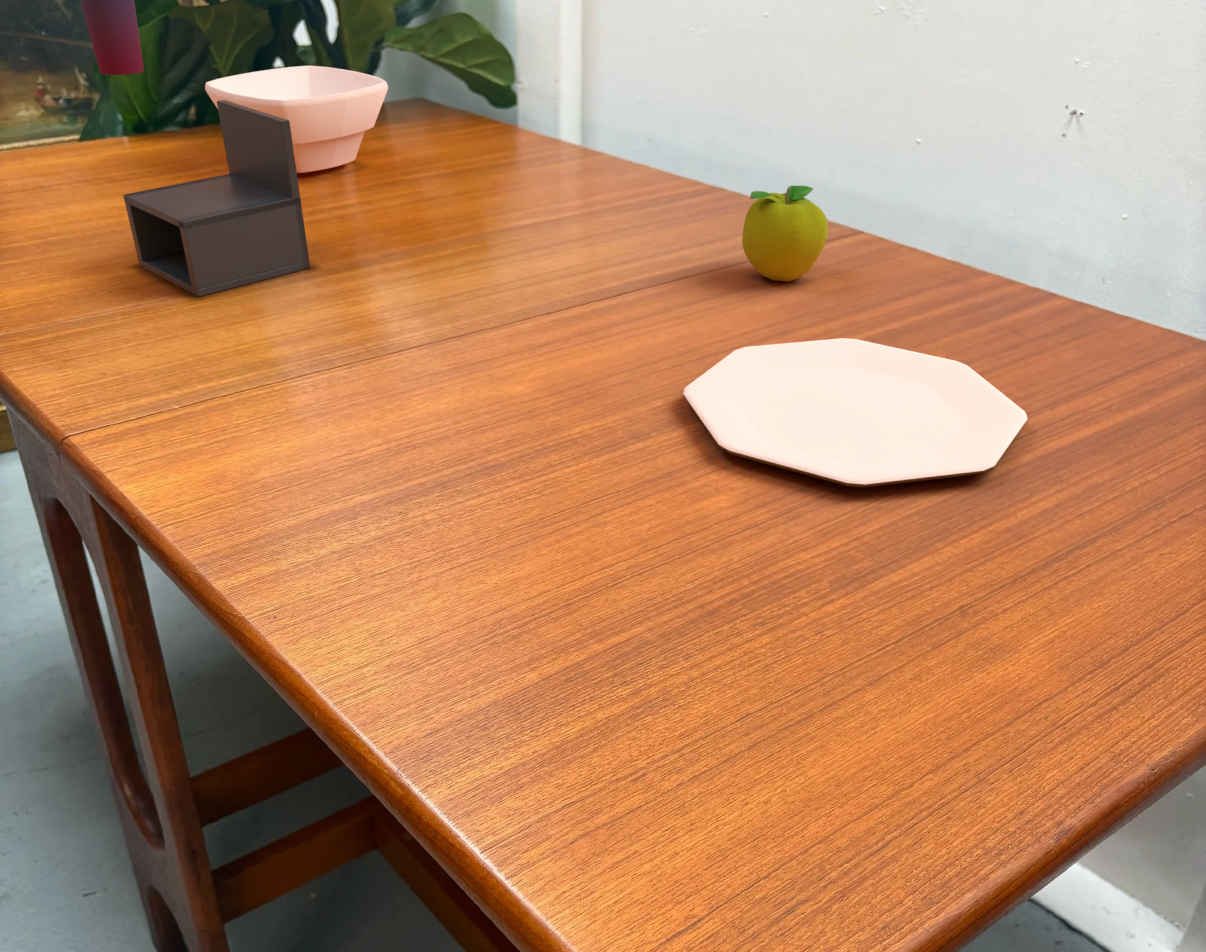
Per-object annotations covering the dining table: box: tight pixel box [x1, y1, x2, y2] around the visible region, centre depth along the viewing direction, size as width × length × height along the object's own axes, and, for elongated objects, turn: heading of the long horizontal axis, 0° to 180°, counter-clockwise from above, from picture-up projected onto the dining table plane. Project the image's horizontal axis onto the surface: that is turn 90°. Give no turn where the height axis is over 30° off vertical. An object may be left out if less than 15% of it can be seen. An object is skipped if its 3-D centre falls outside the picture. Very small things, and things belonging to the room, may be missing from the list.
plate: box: [682, 337, 1028, 488], centre depth 99 cm, size 28×28×2 cm
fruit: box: [741, 185, 829, 283], centre depth 126 cm, size 9×9×10 cm
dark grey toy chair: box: [122, 100, 311, 297], centre depth 126 cm, size 14×14×16 cm
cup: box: [79, 0, 145, 76], centre depth 133 cm, size 7×7×15 cm
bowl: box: [204, 65, 389, 174], centre depth 164 cm, size 22×22×12 cm
